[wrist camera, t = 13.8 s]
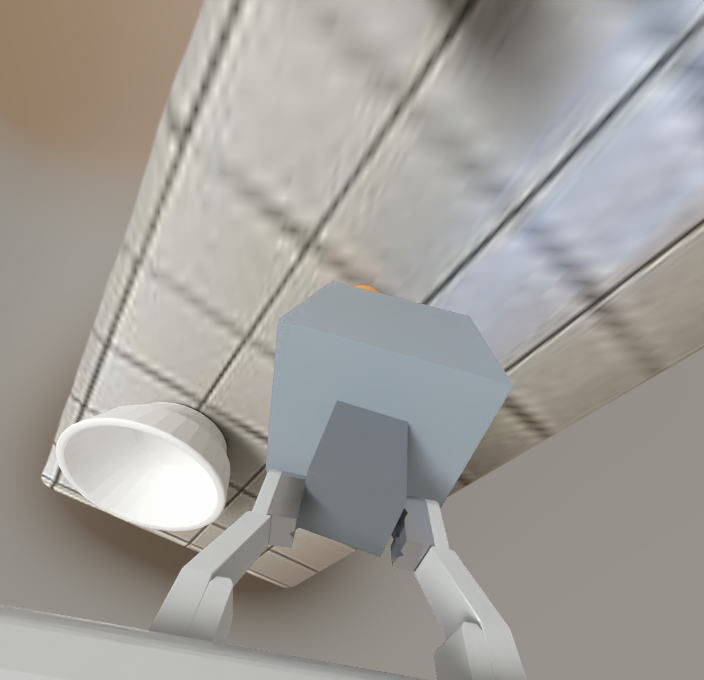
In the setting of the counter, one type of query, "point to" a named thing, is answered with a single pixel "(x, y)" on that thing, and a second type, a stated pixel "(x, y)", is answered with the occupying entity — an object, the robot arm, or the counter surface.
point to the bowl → (149, 465)
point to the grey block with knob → (377, 407)
